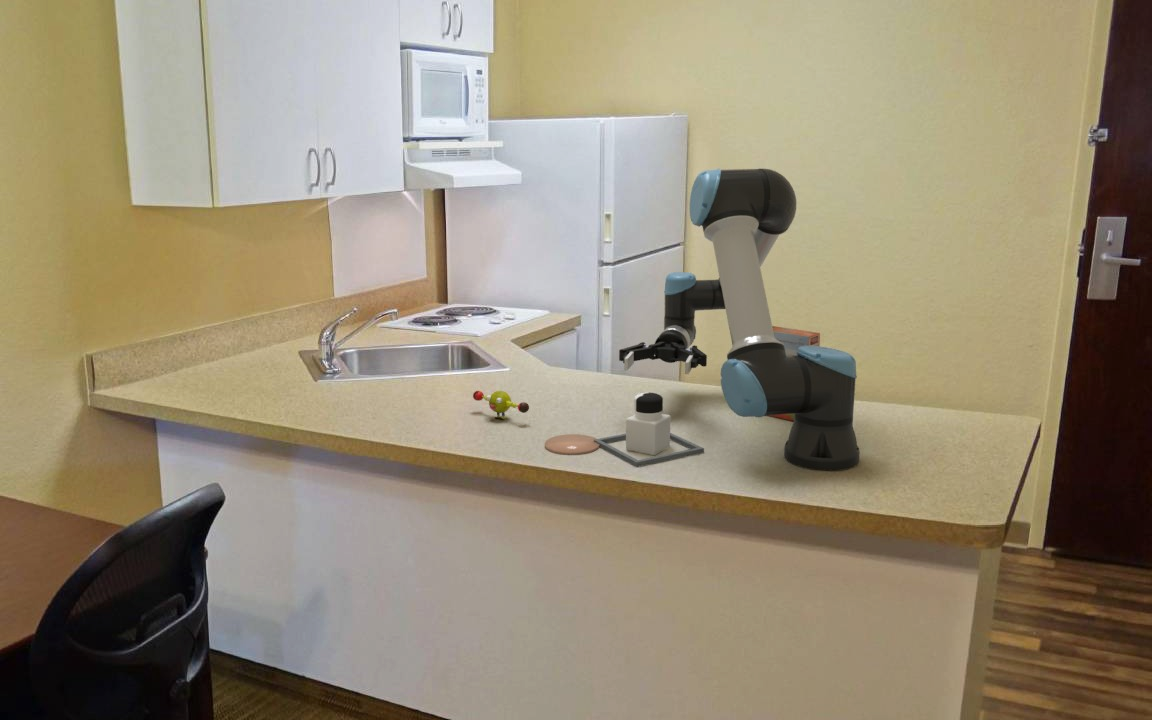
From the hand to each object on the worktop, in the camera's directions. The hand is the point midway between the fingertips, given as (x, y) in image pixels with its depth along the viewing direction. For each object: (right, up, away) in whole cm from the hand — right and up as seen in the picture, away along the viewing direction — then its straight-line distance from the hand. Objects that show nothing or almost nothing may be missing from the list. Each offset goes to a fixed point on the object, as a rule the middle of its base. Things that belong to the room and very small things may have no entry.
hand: (656, 366), depth 212 cm
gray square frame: (-2, -17, -6) cm, 19 cm away
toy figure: (-36, -13, +16) cm, 41 cm away
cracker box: (+32, -12, +16) cm, 38 cm away
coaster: (-19, -17, -4) cm, 26 cm away
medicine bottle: (-2, -18, -6) cm, 19 cm away
